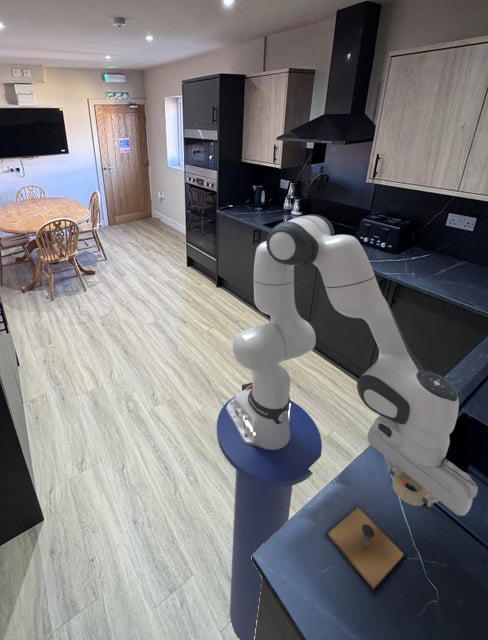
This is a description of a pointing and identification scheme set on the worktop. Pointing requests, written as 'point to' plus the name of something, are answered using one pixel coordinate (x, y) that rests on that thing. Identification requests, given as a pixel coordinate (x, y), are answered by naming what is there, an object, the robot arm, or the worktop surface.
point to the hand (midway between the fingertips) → (408, 487)
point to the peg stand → (366, 547)
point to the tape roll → (405, 493)
